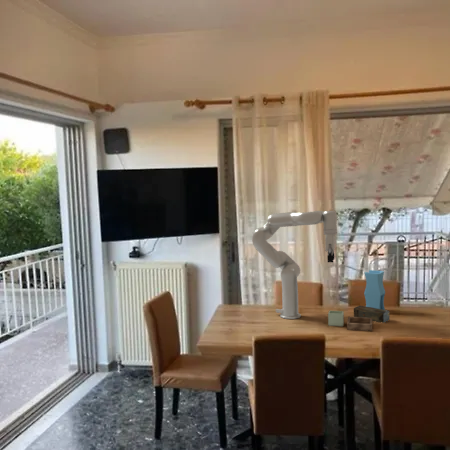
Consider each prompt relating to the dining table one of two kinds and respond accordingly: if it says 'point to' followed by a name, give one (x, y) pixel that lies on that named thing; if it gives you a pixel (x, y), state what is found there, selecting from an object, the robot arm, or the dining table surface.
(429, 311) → the dining table surface
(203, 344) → the dining table surface
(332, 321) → the small crate
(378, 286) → the vase
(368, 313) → the beverage carton
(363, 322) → the walnut crate
